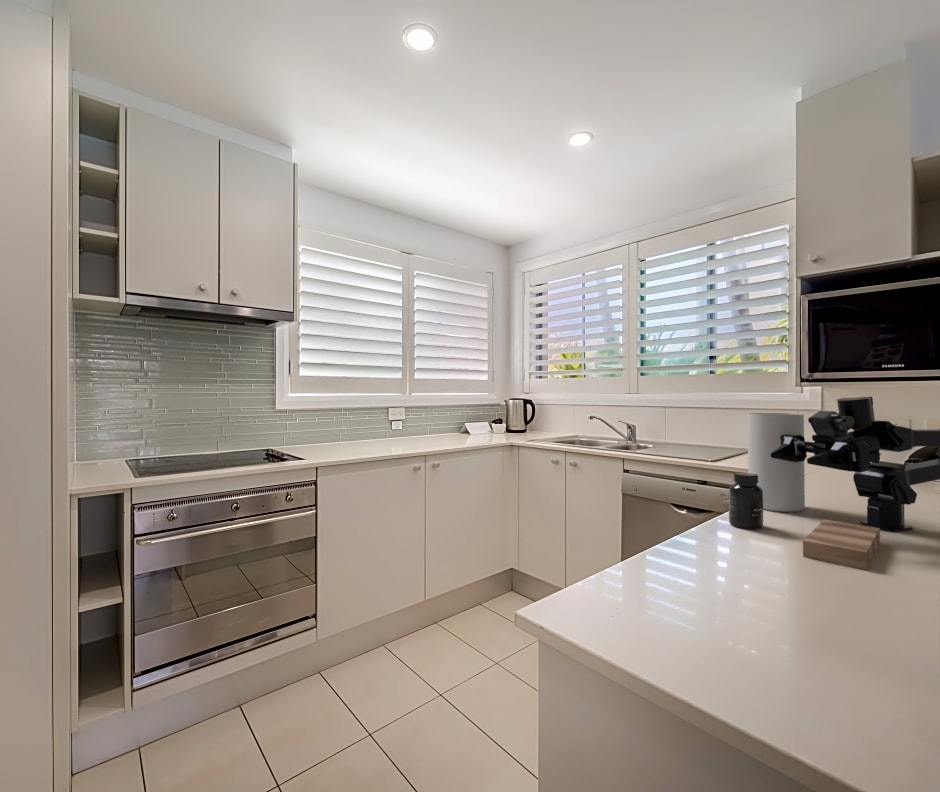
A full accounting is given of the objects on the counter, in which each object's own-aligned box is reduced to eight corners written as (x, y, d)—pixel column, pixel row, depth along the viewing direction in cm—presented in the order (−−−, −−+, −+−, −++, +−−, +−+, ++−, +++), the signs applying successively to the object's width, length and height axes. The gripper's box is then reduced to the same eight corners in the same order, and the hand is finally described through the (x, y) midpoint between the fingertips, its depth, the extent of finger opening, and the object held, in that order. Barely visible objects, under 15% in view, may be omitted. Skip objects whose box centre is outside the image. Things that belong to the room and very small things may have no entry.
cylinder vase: (755, 511, 118) (754, 414, 118) (743, 500, 129) (742, 412, 129) (812, 514, 114) (811, 414, 114) (794, 503, 126) (793, 412, 125)
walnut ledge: (824, 533, 98) (824, 519, 98) (879, 542, 92) (879, 528, 92) (803, 556, 85) (802, 540, 85) (866, 569, 78) (866, 552, 78)
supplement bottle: (764, 531, 100) (763, 477, 100) (728, 527, 104) (727, 474, 104) (763, 524, 106) (762, 472, 106) (729, 520, 109) (729, 470, 109)
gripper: (806, 408, 110) (750, 419, 107) (889, 411, 91) (823, 424, 89) (812, 453, 110) (756, 465, 108) (896, 465, 92) (831, 480, 89)
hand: (788, 458), depth 98 cm, fingers open, 9 cm apart
